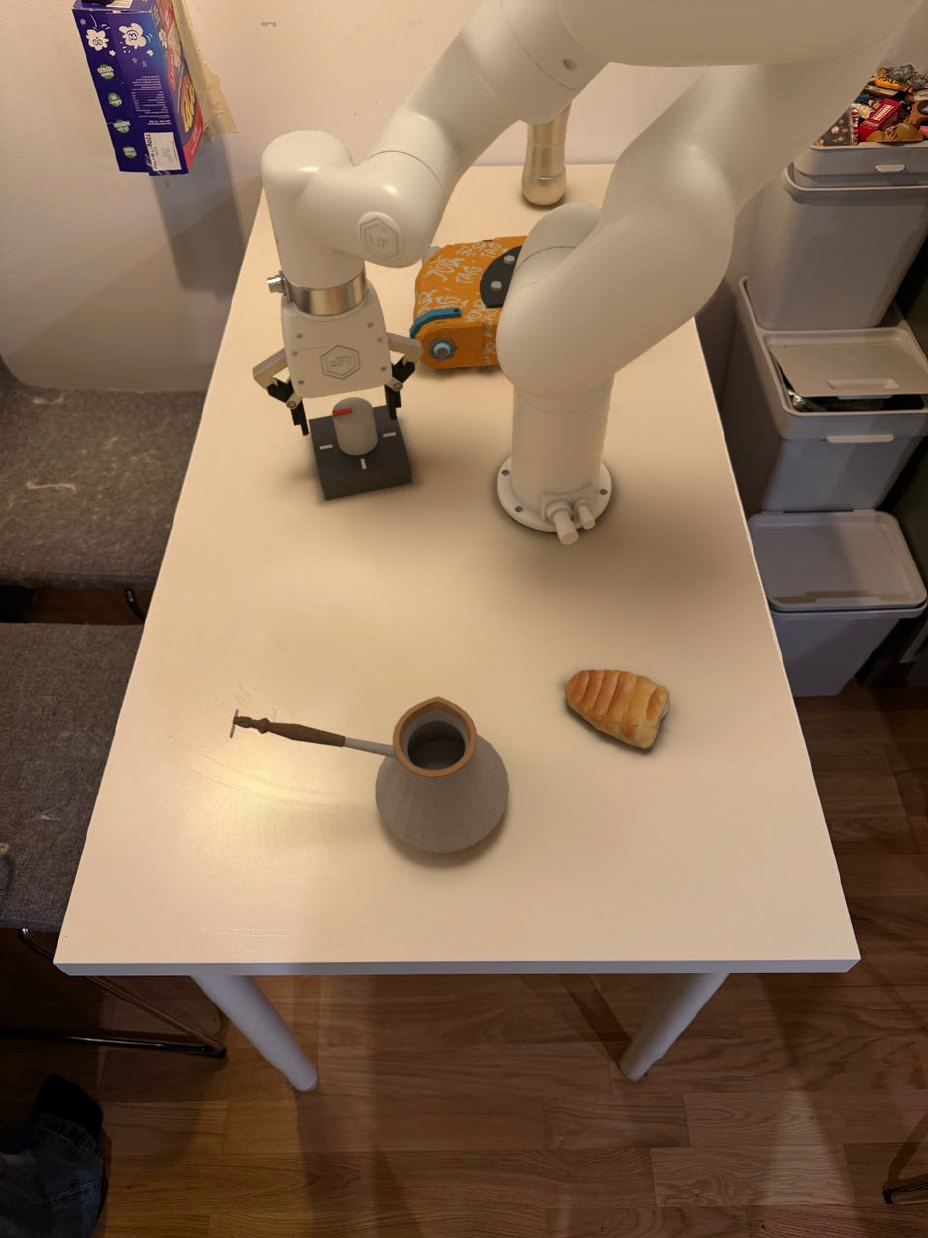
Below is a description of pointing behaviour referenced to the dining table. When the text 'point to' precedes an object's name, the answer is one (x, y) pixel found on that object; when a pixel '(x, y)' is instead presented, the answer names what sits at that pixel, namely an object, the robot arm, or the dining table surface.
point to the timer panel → (360, 458)
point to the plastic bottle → (546, 160)
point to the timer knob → (355, 425)
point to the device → (463, 301)
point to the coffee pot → (425, 774)
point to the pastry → (619, 704)
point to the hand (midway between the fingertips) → (348, 419)
